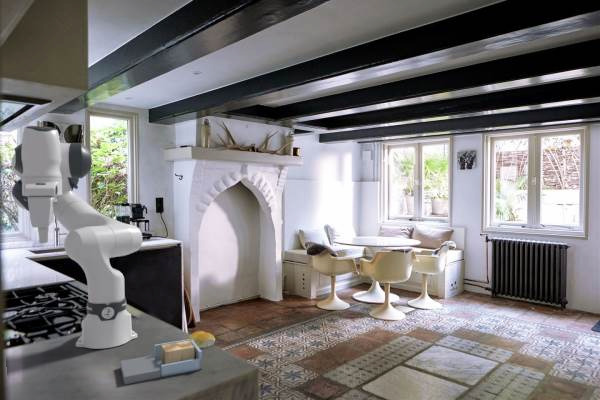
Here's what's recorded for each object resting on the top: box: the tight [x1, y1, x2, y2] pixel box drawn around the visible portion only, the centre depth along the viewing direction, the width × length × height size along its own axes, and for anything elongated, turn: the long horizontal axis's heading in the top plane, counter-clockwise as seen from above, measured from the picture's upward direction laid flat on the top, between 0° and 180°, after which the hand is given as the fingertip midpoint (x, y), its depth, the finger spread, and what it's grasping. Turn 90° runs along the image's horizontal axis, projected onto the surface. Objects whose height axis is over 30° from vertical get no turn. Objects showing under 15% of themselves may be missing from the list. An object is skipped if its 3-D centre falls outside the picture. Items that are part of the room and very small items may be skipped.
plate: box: [120, 354, 162, 385], centre depth 119 cm, size 12×9×2 cm
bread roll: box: [187, 330, 216, 349], centre depth 141 cm, size 8×9×4 cm
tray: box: [153, 338, 203, 378], centre depth 124 cm, size 12×11×5 cm
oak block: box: [162, 341, 194, 365], centre depth 124 cm, size 6×5×8 cm
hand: (43, 242), depth 110 cm, fingers closed
